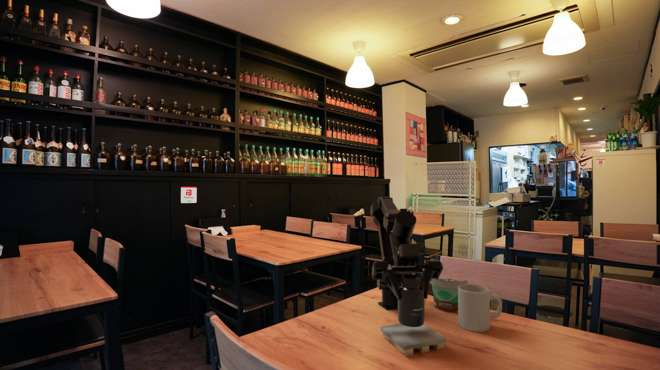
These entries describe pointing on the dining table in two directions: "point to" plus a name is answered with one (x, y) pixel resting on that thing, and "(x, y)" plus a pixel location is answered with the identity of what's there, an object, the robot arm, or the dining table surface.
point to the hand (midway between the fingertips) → (412, 298)
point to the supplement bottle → (411, 302)
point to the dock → (413, 338)
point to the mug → (476, 307)
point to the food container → (446, 294)
